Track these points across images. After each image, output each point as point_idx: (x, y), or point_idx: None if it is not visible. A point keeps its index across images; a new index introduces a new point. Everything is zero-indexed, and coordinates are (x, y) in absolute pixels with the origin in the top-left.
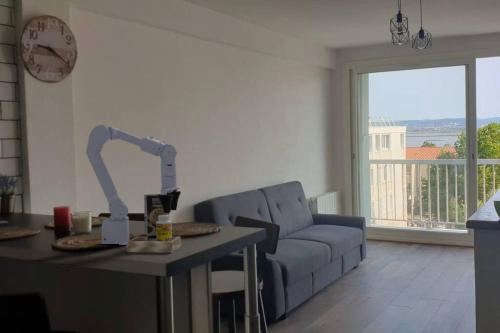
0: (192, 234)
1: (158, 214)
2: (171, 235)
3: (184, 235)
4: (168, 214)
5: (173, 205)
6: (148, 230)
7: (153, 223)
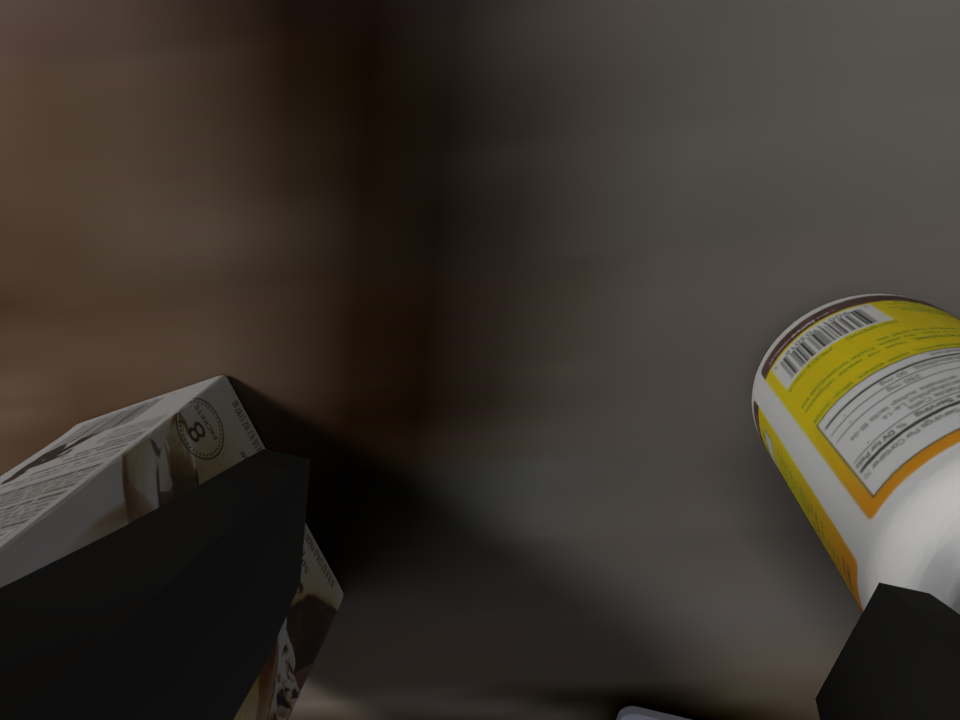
0: (221, 37)
1: None
2: (956, 323)
3: (302, 161)
4: (33, 544)
5: (233, 622)
6: (321, 637)
7: None
